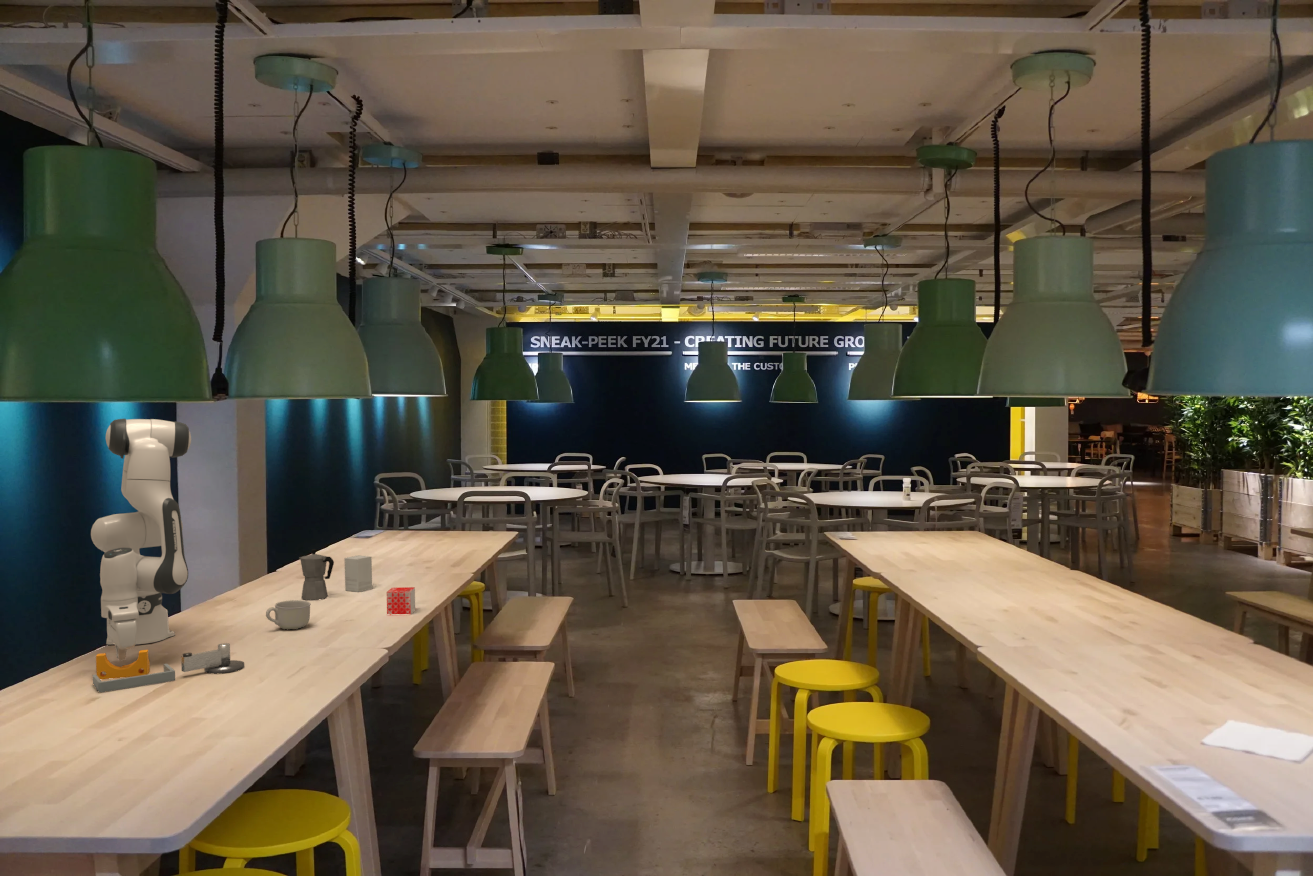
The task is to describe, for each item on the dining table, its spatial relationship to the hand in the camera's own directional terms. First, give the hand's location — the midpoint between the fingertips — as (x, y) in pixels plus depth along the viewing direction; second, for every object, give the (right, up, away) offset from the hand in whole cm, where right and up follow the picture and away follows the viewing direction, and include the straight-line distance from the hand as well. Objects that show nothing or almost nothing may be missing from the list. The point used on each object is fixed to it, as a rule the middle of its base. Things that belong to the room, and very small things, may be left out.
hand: (121, 659), depth 277 cm
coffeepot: (+21, +1, +96) cm, 98 cm away
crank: (+25, -1, -4) cm, 25 cm away
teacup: (+28, -1, +47) cm, 55 cm away
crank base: (+28, -3, -1) cm, 28 cm away
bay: (+10, -3, -13) cm, 17 cm away
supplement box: (+32, +2, +112) cm, 116 cm away
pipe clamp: (+4, -3, -6) cm, 8 cm away
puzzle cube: (+58, 0, +70) cm, 91 cm away
